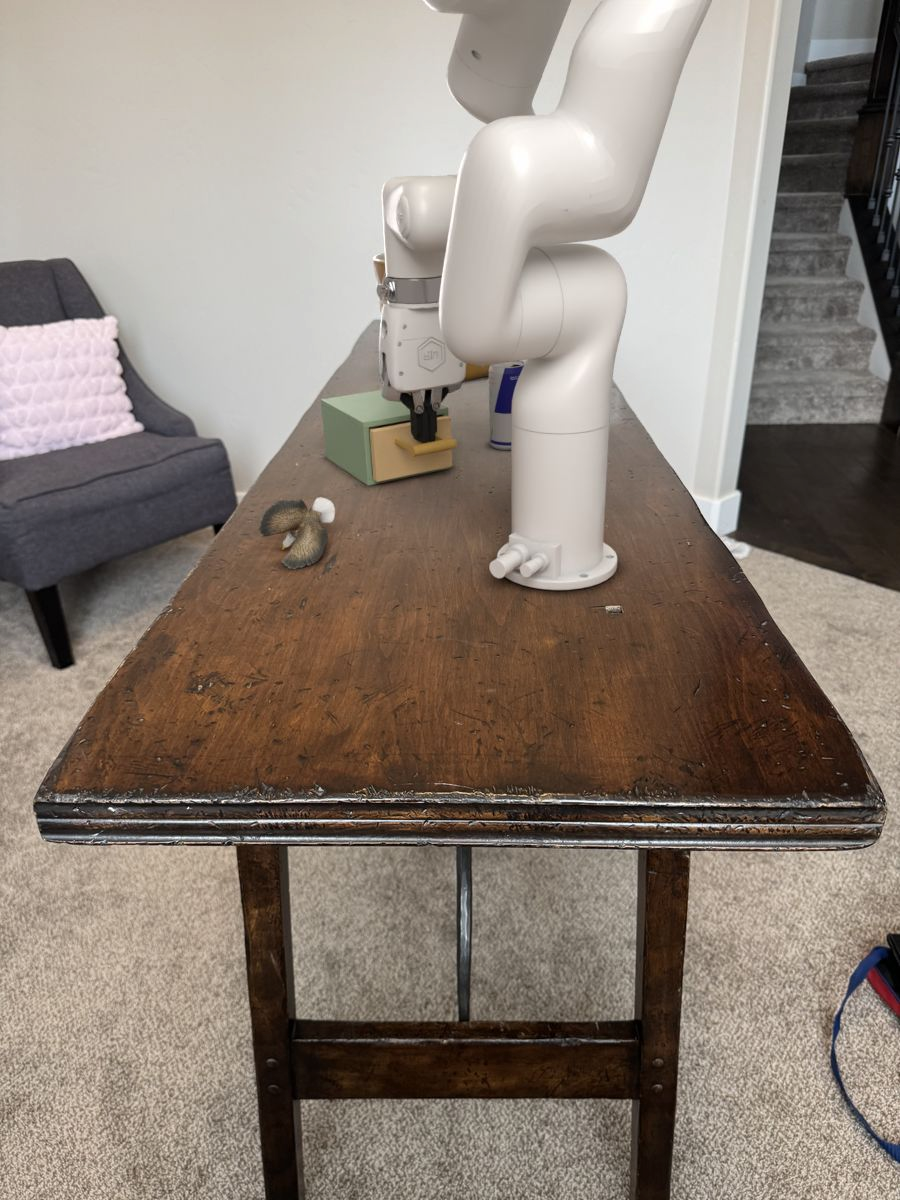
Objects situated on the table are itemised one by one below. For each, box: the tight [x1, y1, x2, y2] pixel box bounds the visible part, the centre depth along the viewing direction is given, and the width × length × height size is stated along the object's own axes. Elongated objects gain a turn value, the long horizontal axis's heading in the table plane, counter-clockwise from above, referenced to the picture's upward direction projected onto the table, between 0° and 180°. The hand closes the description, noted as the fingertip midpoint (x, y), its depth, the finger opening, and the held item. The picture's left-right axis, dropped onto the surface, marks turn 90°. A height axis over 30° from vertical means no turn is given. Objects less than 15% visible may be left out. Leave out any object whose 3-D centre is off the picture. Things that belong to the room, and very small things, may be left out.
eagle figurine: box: [257, 496, 336, 570], centre depth 98 cm, size 8×7×9 cm
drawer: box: [369, 416, 457, 482], centre depth 120 cm, size 20×11×7 cm, turn 29°
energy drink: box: [488, 360, 526, 451], centre depth 130 cm, size 5×5×12 cm
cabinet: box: [320, 389, 451, 487], centre depth 125 cm, size 15×13×9 cm
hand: (424, 440), depth 114 cm, fingers closed
